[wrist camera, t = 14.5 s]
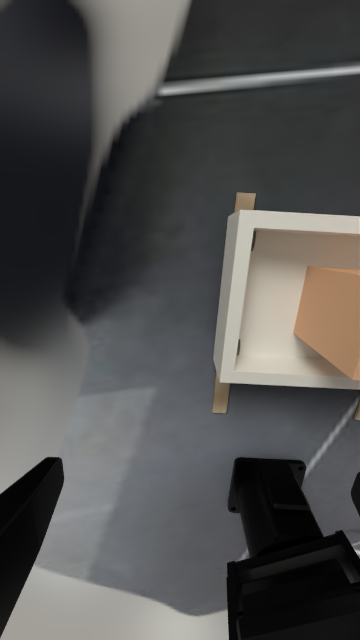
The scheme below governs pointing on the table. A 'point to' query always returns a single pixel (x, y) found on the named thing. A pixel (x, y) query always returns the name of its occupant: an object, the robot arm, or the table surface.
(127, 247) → the table surface
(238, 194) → the track
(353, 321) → the part block
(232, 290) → the white open storage bin
